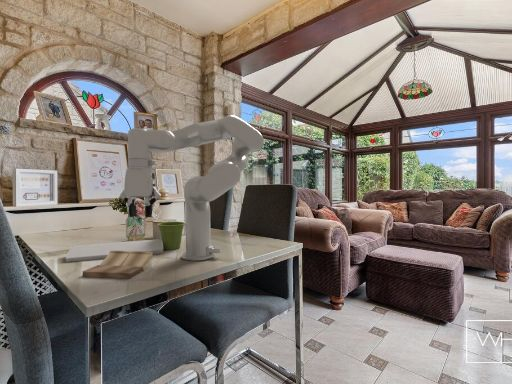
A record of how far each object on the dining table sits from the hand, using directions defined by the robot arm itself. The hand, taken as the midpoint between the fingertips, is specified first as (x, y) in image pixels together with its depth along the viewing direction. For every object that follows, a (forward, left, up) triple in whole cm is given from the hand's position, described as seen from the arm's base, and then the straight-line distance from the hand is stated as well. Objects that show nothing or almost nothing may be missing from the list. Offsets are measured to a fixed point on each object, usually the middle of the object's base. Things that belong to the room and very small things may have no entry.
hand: (140, 216), depth 95 cm
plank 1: (+8, +2, -16) cm, 18 cm away
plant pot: (+1, -27, -18) cm, 32 cm away
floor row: (+4, +10, -17) cm, 20 cm away
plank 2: (0, +2, -16) cm, 16 cm away
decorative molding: (+18, -14, -18) cm, 29 cm away
